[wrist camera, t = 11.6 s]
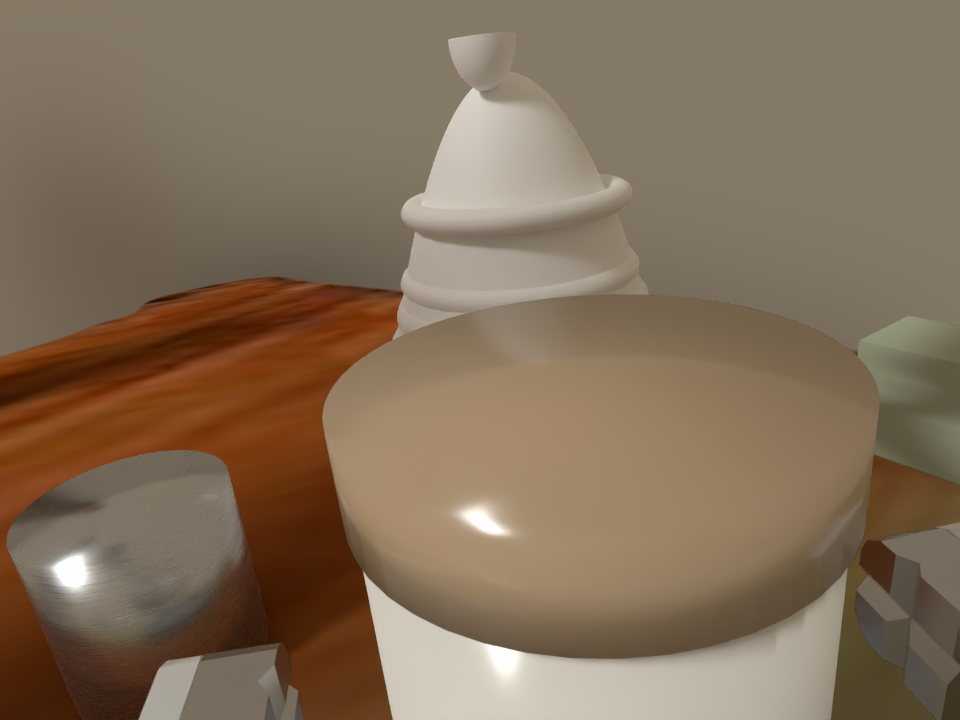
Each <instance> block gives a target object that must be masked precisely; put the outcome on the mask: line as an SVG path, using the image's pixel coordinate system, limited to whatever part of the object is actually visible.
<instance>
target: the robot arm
mask: <svg viewBox="0 0 960 720" xmlns="http://www.w3.org/2000/svg"><path fill="white" fill-rule="evenodd" d="M859 565H860V566H861V567H862V568H863V570H864V571H865V572H866V573H867V575H868V576H867V577H866V578H865V580H864V581H863V582H862V584H861V585H860V586H859V587H858V589H857V590H856V602H855V611H856V615H857V618H858V622H859V625H860V629H861V631H862V633H863V634H864V636H865V638H866V640H867V641H868V643H869V645H870V646H871V647H872V648H873V649H874V650H875V651H876V653H877V654H878V655H879V656H880V657H881V658H882V659H884V660H886V661H888V662H890V663H892V664H894V665H896V666H898V667H901V668H903V676H904V684H905V685H906V687H907V688H908V689H909V690H910V691H911V692H912V693H913V694H914V695H915V697H916V698H917V699H918V700H919V701H920V702H921V703H922V704H923V706H924V707H925V708H926V709H927V710H928V711H929V712H930V713H931V714H932V716H933V717H934V718H935V719H936V720H960V523H955V524H950V525H944V526H939V527H935V528H933V529H927V530H922V531H916V532H911V533H905V534H900V535H894V536H889V537H883V538H878V539H872V540H867V542H866V543H865V545H864V546H863V548H862V550H861V557H860V564H859ZM290 672H291V662H290V659H289V655H288V652H287V649H286V646H285V645H284V644H282V643H276V644H269V645H263V646H256V647H249V648H243V649H236V650H230V651H223V652H216V653H210V654H206V655H203V656H195V657H188V658H181V659H175V660H168V661H166V662H165V663H164V664H163V665H162V666H161V667H160V668H159V669H158V671H157V673H156V676H155V679H154V681H153V684H152V686H151V689H150V691H149V694H148V696H147V699H146V702H145V704H144V707H143V709H142V712H141V714H140V717H139V719H138V720H304V718H303V711H302V704H301V700H300V696H299V692H298V691H297V690H296V689H295V688H293V687H292V686H290V685H289V679H290Z"/></svg>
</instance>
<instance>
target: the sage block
mask: <svg viewBox="0 0 960 720" xmlns="http://www.w3.org/2000/svg"><path fill="white" fill-rule="evenodd" d="M858 358H859V359H860V360H861V361H862V362H863V363H864V364H865V365H866V366H867V367H868V369H869V371H870V372H871V374H872V375H873V377H874V379H875V380H876V383H877V387H878V391H879V395H880V403H879V414H878V423H877V431H876V439H875V448H874V455H877V456H880V457H882V458H885V459H888V460H891V461H894V462H897V463H900V464H902V465H905V466H908V467H911V468H914V469H917V470H919V471H922V472H925V473H928V474H931V475H934V476H937V477H939V478H942V479H945V480H948V481H951V482H954V483H957V484H959V485H960V325H955V324H949V323H944V322H939V321H934V320H928V319H923V318H917V317H912V316H907V317H905V318H903V319H901V320H899V321H897V322H895V323H894V324H891V325H889V326H887V327H885V328H883V329H881V330H879V331H877V332H875V333H873V334H871V335H869V336H868V337H866V338H863V339H862V340H860V341H859V349H858Z"/></svg>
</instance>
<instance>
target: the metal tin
mask: <svg viewBox="0 0 960 720" xmlns="http://www.w3.org/2000/svg"><path fill="white" fill-rule="evenodd" d="M6 543H7V547H8V550H9V552H10V555H11V557H12V559H13V562H14V564H15V567H16V569H17V571H18V574H19V576H20V578H21V581H22V583H23V586H24V588H25V590H26V593H27V595H28V597H29V600H30V602H31V604H32V607H33V609H34V612H35V614H36V616H37V619H38V621H39V623H40V626H41V628H42V631H43V633H44V635H45V638H46V640H47V642H48V645H49V647H50V649H51V652H52V654H53V657H54V659H55V661H56V664H57V666H58V668H59V671H60V673H61V676H62V678H63V680H64V683H65V685H66V687H67V690H68V692H69V694H70V697H71V699H72V702H73V704H74V706H75V709H76V711H77V713H78V715H79V716H80V718H81V719H82V720H138V719H139V717H140V714H141V712H142V709H143V707H144V704H145V702H146V699H147V696H148V694H149V691H150V689H151V686H152V684H153V681H154V679H155V676H156V673H157V671H158V669H159V668H160V667H161V666H162V665H163V664H164V663H165V662H166V661H168V660H175V659H181V658H188V657H195V656H203V655H206V654H210V653H216V652H223V651H230V650H236V649H243V648H249V647H256V646H263V645H268V641H269V635H270V626H269V621H268V617H267V614H266V610H265V606H264V602H263V599H262V595H261V591H260V587H259V584H258V580H257V576H256V573H255V569H254V565H253V561H252V558H251V554H250V550H249V547H248V543H247V539H246V535H245V532H244V528H243V524H242V521H241V517H240V513H239V509H238V506H237V502H236V498H235V495H234V491H233V487H232V483H231V480H230V476H229V472H228V469H227V467H226V465H225V464H224V463H223V462H222V461H221V460H220V459H219V458H217V457H215V456H213V455H210V454H208V453H203V452H198V451H189V450H172V451H161V452H153V453H147V454H142V455H137V456H133V457H129V458H125V459H121V460H118V461H115V462H111V463H108V464H106V465H103V466H100V467H97V468H95V469H92V470H90V471H87V472H85V473H82V474H80V475H78V476H76V477H74V478H72V479H70V480H68V481H66V482H64V483H62V484H60V485H58V486H57V487H55V488H53V489H52V490H50V491H48V492H47V493H46V494H44V495H43V496H41V497H40V498H38V499H37V500H36V501H34V502H33V503H32V504H31V505H29V506H28V507H27V508H26V509H25V510H24V511H23V512H22V513H21V514H20V515H19V516H18V518H17V519H16V520H15V521H14V523H13V524H12V526H11V528H10V530H9V532H8V535H7V542H6Z"/></svg>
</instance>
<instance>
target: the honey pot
mask: <svg viewBox="0 0 960 720" xmlns="http://www.w3.org/2000/svg"><path fill="white" fill-rule="evenodd" d="M448 44H449V50H450V54H451V57H452V60H453V63H454V65H455V67H456V69H457V71H458V73H459V74H460V76H461V77H462V78H463V80H464V81H465V82H466V83H467V84H469V85H470V86H471V87H473V88H472V89H471V90H470V92H469V93H468V94H467V95H466V96H465V98H464V99H463V101H462V102H461V104H460V105H459V107H458V108H457V110H456V112H455V114H454V116H453V118H452V120H451V121H450V123H449V126H448V128H447V130H446V132H445V135H444V137H443V139H442V142H441V145H440V147H439V150H438V152H437V155H436V158H435V160H434V164H433V167H432V170H431V173H430V176H429V179H428V183H427V187H426V190H425V193H421V194H419V195H416V196H414V197H412V198H411V199H409V200H408V201H406V202H405V204H404V206H403V208H402V210H401V217H402V220H403V221H404V223H405V224H406V225H408V226H409V227H410V228H411V229H413V230H416V231H415V236H414V240H413V245H412V250H411V256H410V260H409V267H408V268H407V269H406V270H405V272H404V274H403V277H402V280H401V289H402V291H403V293H404V295H403V299H402V301H401V303H400V306H399V309H398V313H397V321H398V324H399V327H398V329H397V331H396V333H395V335H394V337H393V340H394V339H396V338H398V337H400V336H402V335H404V334H406V333H409V332H411V331H414V330H416V329H419V328H421V327H424V326H426V325H429V324H432V323H435V322H438V321H441V320H444V319H447V318H451V317H455V316H458V315H462V314H466V313H469V312H473V311H478V310H482V309H487V308H491V307H496V306H501V305H507V304H512V303H518V302H525V301H532V300H539V299H548V298H558V297H568V296H584V295H611V294H632V295H649V294H648V289H647V286H646V285H645V283H644V282H643V281H642V280H641V278H640V276H639V273H638V267H639V258H638V256H637V254H636V253H635V252H634V251H633V250H632V249H631V248H630V247H629V245H628V242H627V239H626V237H625V234H624V232H623V229H622V226H621V224H620V221H619V219H618V216H617V214H616V213H617V212H618V211H620V210H622V209H623V208H624V207H626V206H627V205H628V204H629V202H630V200H631V196H632V187H631V185H630V184H629V183H628V182H627V181H625V180H623V179H621V178H620V177H617V176H611V175H607V174H599V173H598V171H597V169H596V167H595V165H594V163H593V161H592V159H591V157H590V155H589V153H588V151H587V149H586V147H585V146H584V144H583V142H582V140H581V139H580V137H579V135H578V134H577V132H576V130H575V129H574V127H573V126H572V124H571V123H570V121H569V120H568V118H567V117H566V115H565V114H564V113H563V111H562V110H561V109H560V107H559V106H558V105H557V104H556V102H555V101H554V100H553V99H552V98H551V97H550V96H549V95H548V94H547V93H546V91H545V90H544V89H542V88H541V87H540V86H538V85H537V84H536V83H535V82H534V81H532V80H530V79H529V78H527V77H525V76H523V75H521V74H517V73H514V72H509V70H510V67H511V64H512V61H513V57H514V51H515V32H502V33H490V34H480V35H472V36H465V37H459V38H453V39H449V40H448Z"/></svg>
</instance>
